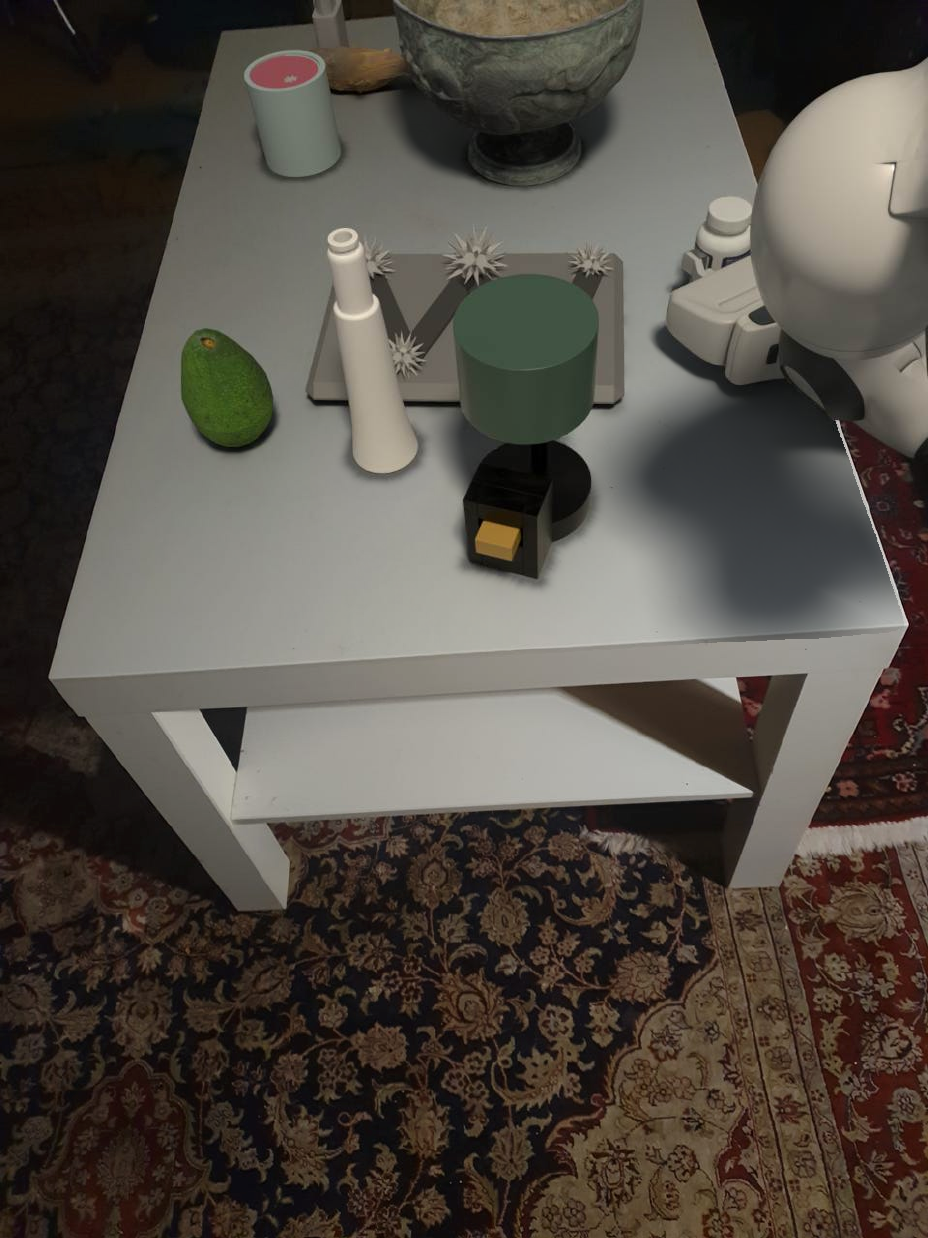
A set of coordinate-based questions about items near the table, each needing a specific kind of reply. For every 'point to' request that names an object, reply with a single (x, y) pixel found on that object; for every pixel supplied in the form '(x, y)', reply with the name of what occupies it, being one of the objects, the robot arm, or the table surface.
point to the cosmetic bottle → (367, 362)
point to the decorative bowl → (518, 73)
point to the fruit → (224, 389)
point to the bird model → (360, 67)
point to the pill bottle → (725, 232)
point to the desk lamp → (527, 409)
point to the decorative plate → (429, 296)
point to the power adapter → (330, 24)
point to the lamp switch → (498, 540)
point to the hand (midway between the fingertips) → (716, 243)
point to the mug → (293, 112)
